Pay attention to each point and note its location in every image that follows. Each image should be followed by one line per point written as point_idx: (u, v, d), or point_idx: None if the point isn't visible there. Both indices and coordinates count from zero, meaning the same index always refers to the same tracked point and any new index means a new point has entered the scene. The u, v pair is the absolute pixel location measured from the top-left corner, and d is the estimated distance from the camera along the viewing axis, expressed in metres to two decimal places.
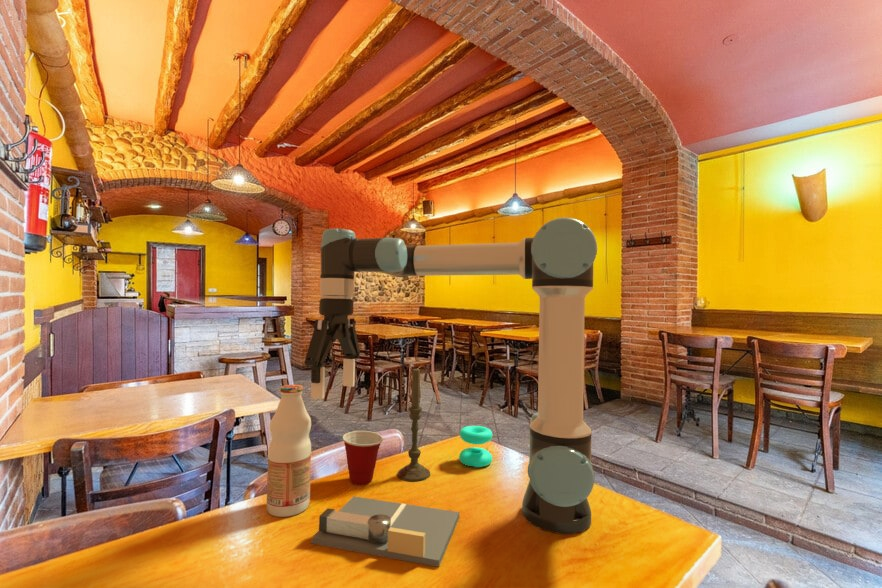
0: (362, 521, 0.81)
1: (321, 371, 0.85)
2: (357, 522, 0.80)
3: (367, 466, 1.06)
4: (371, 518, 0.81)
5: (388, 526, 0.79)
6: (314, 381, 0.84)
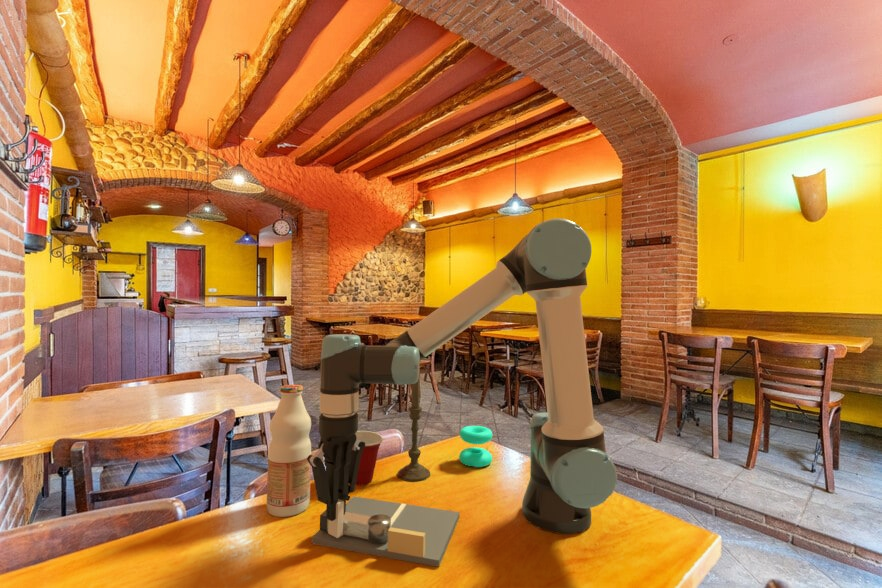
0: (362, 521, 0.81)
1: (336, 507, 0.79)
2: (357, 521, 0.80)
3: (367, 466, 1.06)
4: (371, 518, 0.81)
5: (388, 526, 0.79)
6: (329, 518, 0.79)
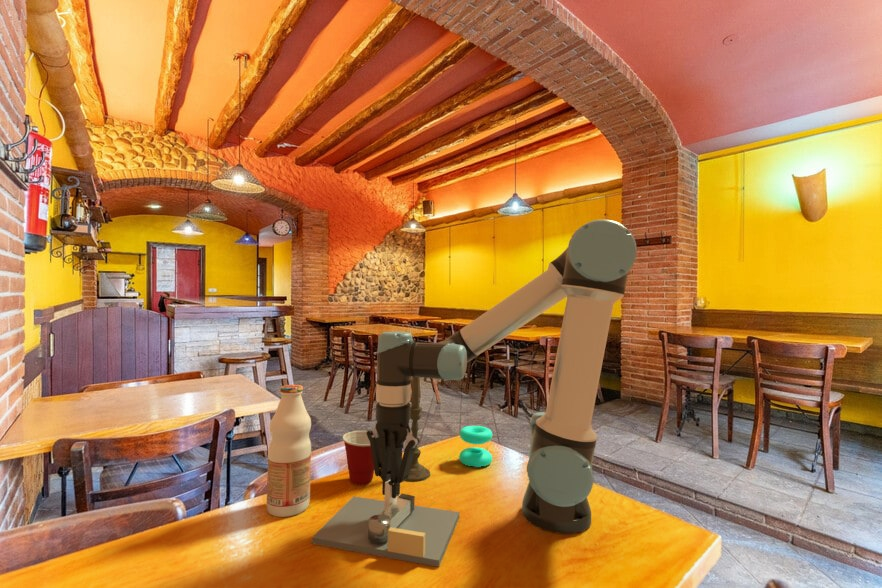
0: (384, 513, 0.84)
1: None
2: (384, 511, 0.85)
3: (367, 466, 1.06)
4: (384, 516, 0.82)
5: (371, 528, 0.79)
6: None
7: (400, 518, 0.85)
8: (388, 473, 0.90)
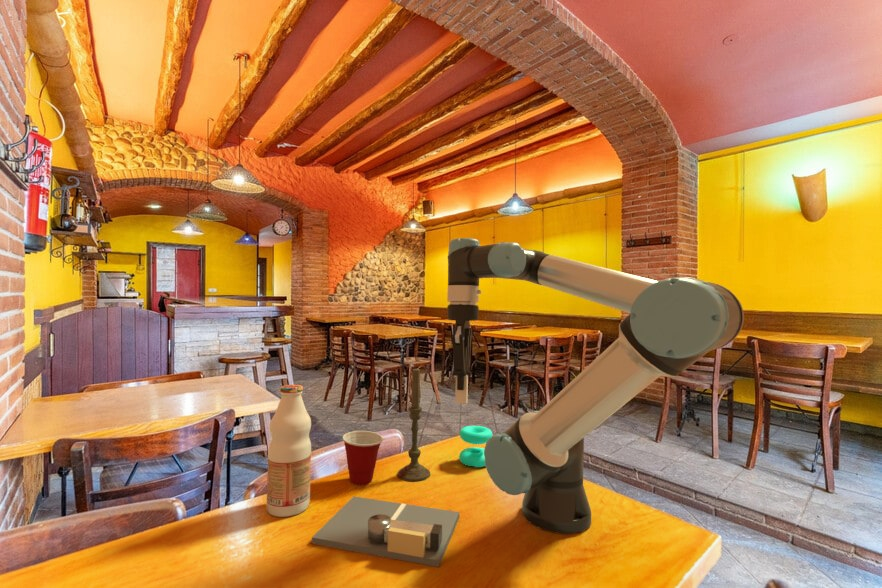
0: (396, 522, 0.80)
1: None
2: (401, 521, 0.81)
3: (367, 466, 1.06)
4: (387, 521, 0.80)
5: None
6: None
7: None
8: None
